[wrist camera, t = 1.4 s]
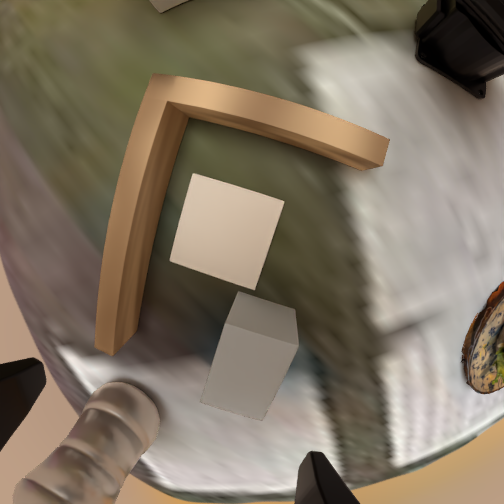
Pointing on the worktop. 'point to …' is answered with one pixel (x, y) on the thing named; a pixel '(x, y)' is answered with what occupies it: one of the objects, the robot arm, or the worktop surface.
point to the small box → (165, 4)
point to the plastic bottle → (95, 450)
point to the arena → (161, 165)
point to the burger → (486, 347)
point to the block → (251, 356)
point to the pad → (225, 230)
